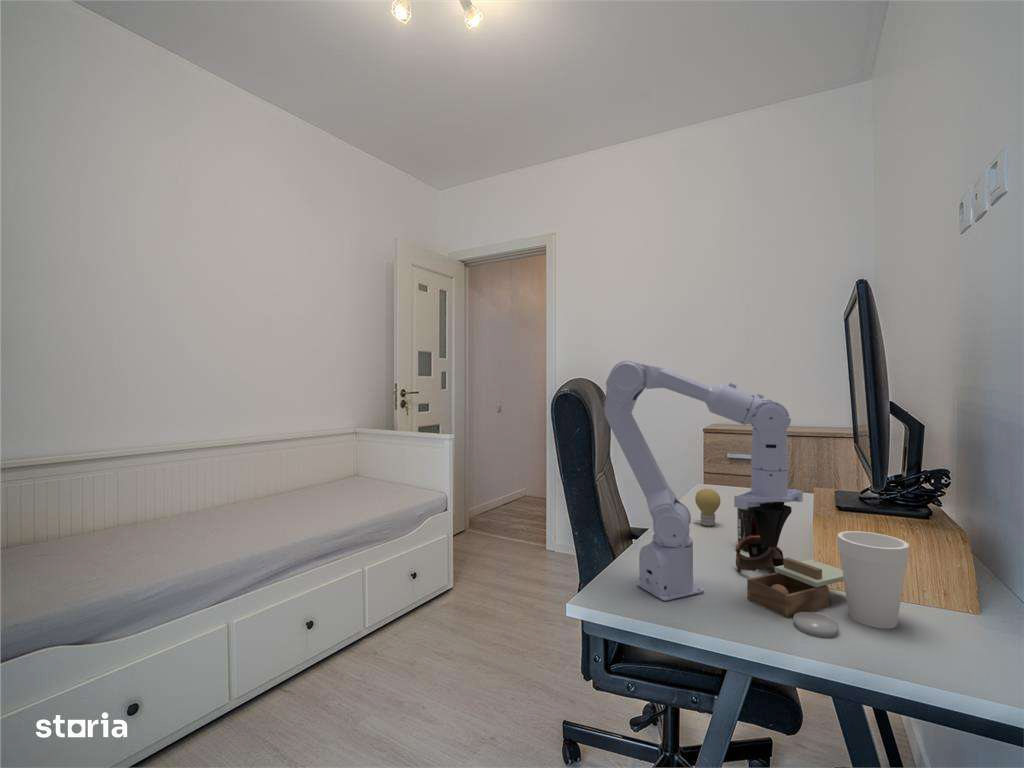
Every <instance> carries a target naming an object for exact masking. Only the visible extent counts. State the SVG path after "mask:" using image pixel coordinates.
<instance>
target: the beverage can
mask: <svg viewBox="0 0 1024 768" xmlns="http://www.w3.org/2000/svg"><path fill="white" fill-rule="evenodd" d="M736 509H737V511H736V512H737V514H736V515H737V544H738V543H739V542H740V541H741V540H743V539H744V538H746V537H747V536H749V535H753V536H760V535H759V531H758V528H757V525H756V523H755V520H754V518H753V516H752V514H751V513H750V511H749V510H748V509H740V508H737V507H736ZM761 546H764V547H765V545H762V544H761ZM742 549H743V550H744V551H747V549H746V548H745V546H744V547H743V548H742Z"/></svg>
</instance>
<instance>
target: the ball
mask: <svg viewBox="0 0 1024 768" xmlns="http://www.w3.org/2000/svg"><path fill="white" fill-rule="evenodd" d="M771 588H773V589H776V590H778V591H780V592H783V593H785V594H789V593H788V591H787V589H786V588H785V587H784V586H782V585H779V584H776V585H773V586H772V587H771Z"/></svg>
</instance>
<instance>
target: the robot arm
mask: <svg viewBox="0 0 1024 768" xmlns="http://www.w3.org/2000/svg"><path fill="white" fill-rule="evenodd" d="M605 386H606V387H605V388H606V391H605V401H604V410H603V411H604V416H605V419H606V421H607V423H608V425H609V427H610V428H611V431H612V433H613V435H614V437H615V439H616V441H617V443H618V444H619V447H620V450H621V451H622V452H623V455H624V457H625V459H626V461H627V463H628V465H629V467H630V469H631V471H632V472H633V475H634V477H635V478H636V482H638V485H639V487H640V489H641V490H642V493H643V495H644V497H645V498H646V504H647V508H648V512H649V514H650V516H651V518H652V519H651V520H652V529H653V533H654V534H653V535H652V540H651V542H649V543H648V544H645V545H643V546H642V547H641V549H640V551H639V555H638V556H639V557H638V558H639V561H638V562H639V563H638V564H639V566H638V567H639V571H638V573H639V578H638V579H639V581H638V582H636V585H637V586H638V587H640V588H642V589H643V590H645V591H646V592H649V593H650V594H651V595H653V596H655V597H657V598H658V599H660V600H661V601H665V602H667V601H671V600H674V599H679V598H684V597H688V596H693V595H697V594H701V593H705V592H704V591H705V590H704V588H702V587H700V586H698V585H697V584H694V540H693V538H692V537H691V536H690V524H691V521H692V520H691V519H692V515H691V512H690V510H689V509H688V507H687V506H686V505H685V504H683V502H681V501H680V500H679V499H678V497H677V496H676V493H675V492H674V491H673V490H672V488H671V486H669V483H668V482H667V480H666V478H665V476H664V475H663V472H662V470H661V469H660V466H659V464H658V462H657V461H656V458H655V456H654V454H653V452H652V450H651V449H650V446H649V444H648V443H647V441H646V439H645V437H644V435H643V432H642V431H641V429H640V427H639V425H638V423H637V421H636V419H635V417H634V415H633V410H634V408H635V406H636V402H637V401H638V398H639V396H640V395H641V394H642V393H643V392H644V390H645V389H646V390H651V389H652V390H653V389H667V390H669V391H672V392H675V393H678V394H680V395H683V396H686V397H690V398H692V399H695V400H698V401H701V402H703V403H705V404H706V407H707V409H708V411H709V412H710V413H712V414H714V415H718V416H720V417H722V418H725V419H727V420H730V421H733V422H736V423H738V424H740V425H743V426H744V425H751V426H752V439H751V442H750V450H751V451H750V452H751V453H750V455H751V456H750V461H751V462H750V464H751V465H750V467H751V468H750V469H751V470H750V477H751V478H750V486H751V487H750V491H748V492H745V493H742V494H739V495H734V497H733V500H734V501H733V502H734V503H733V505H734V506H733V507H734V508H736V509H737V508H740V509H748V510H749V511H750V513H751V514H752V516H753V518H754V520H755V523H756V525H757V528H758V531H759V535H760V538H761V542H762V545H765V546H768V547H771V548H772V547H777V546H778V545H779V540H780V536H781V533H782V530H783V528H784V525H785V523H786V521H787V519H788V518H789V516H790V515H791V514H792V512H793V511H792V509H793V508H792V506H790V505H785V503H791V502H792V503H793V502H796V503H802V502H803V499H804V498H803V490H799V489H795V488H792V489H790V488H789V489H788V486H789V485H788V482H789V481H788V473H789V472H788V469H789V468H788V464H789V463H788V462H789V461H788V454H789V453H788V451H789V449H788V443H787V438H788V433H787V429H788V428H789V427H790V425H791V420H792V418H791V417H790V413H789V411H788V409H787V408H786V407H785V406H784V405H782V404H781V403H780V402H776V401H774V400H772V399H769V398H767V399H764V398H765V394H761V393H757V394H754V393H751V392H748V391H745V390H743V389H740V388H737V384H736V383H732V382H729V383H728V384H726V383H723V382H722V383H719V384H716V385H714V386H709V385H707V384H704V383H703V382H702V383H701V382H700V381H697V380H695V379H692V378H689V377H687V376H684V375H681V374H679V373H677V372H674V371H671V370H669V369H666V368H663V367H659V366H654V365H650V364H644V363H639V362H635V361H632V360H622V361H620V362H618V363H616V364H615V365H614V366H613V367H612V368H611V371H610V372H609V375H608V377H607V379H606V380H605Z"/></svg>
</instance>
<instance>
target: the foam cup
mask: <svg viewBox="0 0 1024 768" xmlns="http://www.w3.org/2000/svg"><path fill="white" fill-rule="evenodd" d="M837 551H838V552H839V559H840V565H841V569H842V573H843V579H844V581H843V584H844V591H845V597H846V603H847V610H848V615H849V617H851V619H852V620H854V621H855V622H858V623H860V624H862V625H865V626H869V627H872V628H876V629H877V628H878V629H894V628H896V627H897V624H898V621H899V620H898V619H899V614H900V607H901V599H902V596H903V595H902V594H903V588H904V582H905V575H906V570H907V563H909V543H908V542H906V541H904V540H903V539H900V538H897V537H894V536H891V535H887V534H882V533H877V532H876V533H875V532H870V531H869V532H868V531H860V530H859V531H857V530H855V531H854V530H853V531H851V530H850V531H849V530H848V531H847V530H846V531H841V532H838V534H837Z"/></svg>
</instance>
